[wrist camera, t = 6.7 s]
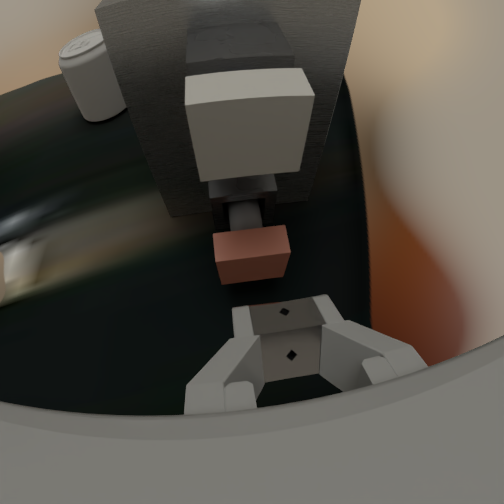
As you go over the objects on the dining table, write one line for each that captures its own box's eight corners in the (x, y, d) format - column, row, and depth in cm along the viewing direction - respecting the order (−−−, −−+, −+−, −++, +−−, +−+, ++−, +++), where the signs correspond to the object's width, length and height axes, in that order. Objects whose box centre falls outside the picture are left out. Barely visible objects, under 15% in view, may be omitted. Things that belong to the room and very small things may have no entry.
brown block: (221, 284, 24) (215, 261, 19) (215, 221, 26) (208, 188, 22) (283, 276, 24) (290, 252, 20) (271, 214, 26) (275, 181, 22)
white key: (200, 181, 14) (184, 105, 10) (197, 108, 17) (186, 40, 12) (299, 171, 15) (315, 95, 10) (277, 100, 17) (283, 33, 12)
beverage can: (131, 116, 37) (106, 45, 26) (79, 130, 36) (47, 67, 25) (136, 84, 40) (118, 21, 29) (89, 97, 39) (65, 39, 28)
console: (171, 253, 29) (70, 41, 9) (171, 145, 34) (129, -29, 14) (316, 235, 30) (398, 19, 9) (287, 132, 35) (309, -43, 15)
